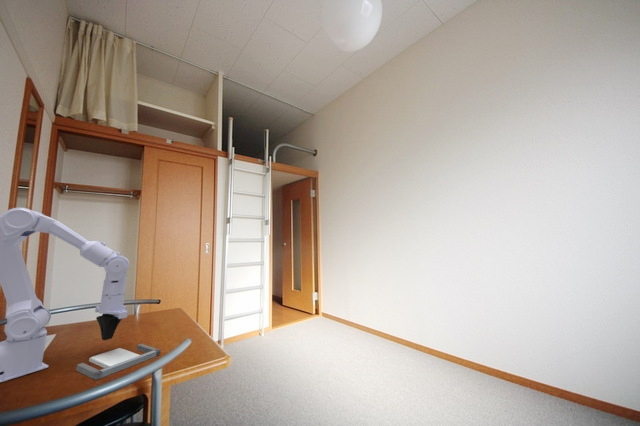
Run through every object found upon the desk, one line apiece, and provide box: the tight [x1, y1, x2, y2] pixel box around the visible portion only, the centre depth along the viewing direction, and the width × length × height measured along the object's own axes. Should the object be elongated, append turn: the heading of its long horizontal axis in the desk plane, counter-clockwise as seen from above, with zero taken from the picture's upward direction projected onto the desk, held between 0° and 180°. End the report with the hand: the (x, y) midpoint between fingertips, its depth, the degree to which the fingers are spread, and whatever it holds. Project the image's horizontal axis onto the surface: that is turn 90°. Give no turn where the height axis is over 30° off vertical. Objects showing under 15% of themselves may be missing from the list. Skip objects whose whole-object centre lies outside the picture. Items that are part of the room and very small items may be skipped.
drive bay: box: [76, 343, 161, 381], centre depth 72 cm, size 16×10×2 cm, turn 155°
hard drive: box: [88, 347, 141, 369], centre depth 73 cm, size 2×8×12 cm
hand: (107, 339), depth 76 cm, fingers closed
